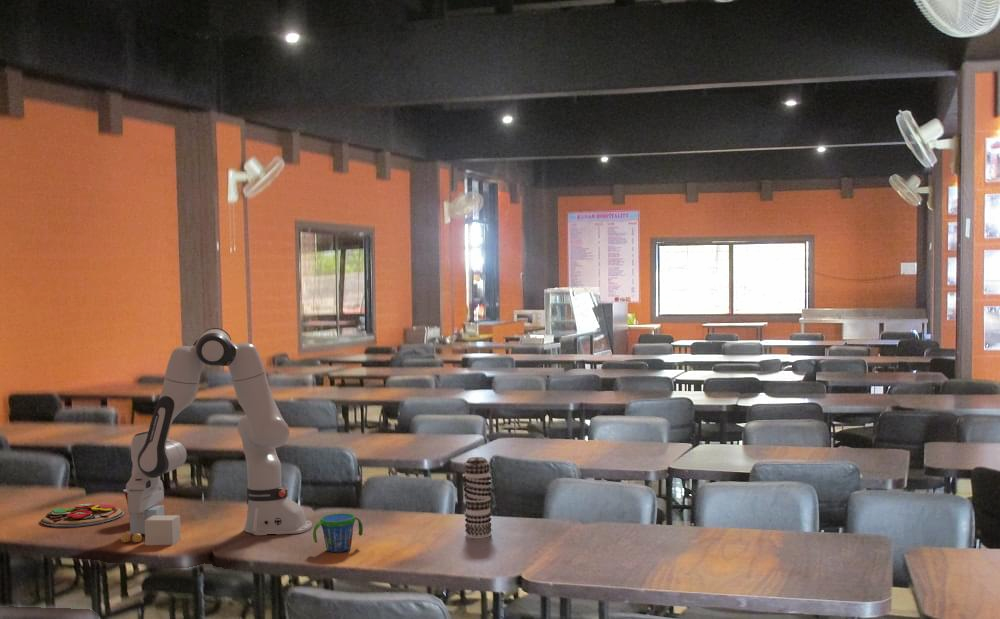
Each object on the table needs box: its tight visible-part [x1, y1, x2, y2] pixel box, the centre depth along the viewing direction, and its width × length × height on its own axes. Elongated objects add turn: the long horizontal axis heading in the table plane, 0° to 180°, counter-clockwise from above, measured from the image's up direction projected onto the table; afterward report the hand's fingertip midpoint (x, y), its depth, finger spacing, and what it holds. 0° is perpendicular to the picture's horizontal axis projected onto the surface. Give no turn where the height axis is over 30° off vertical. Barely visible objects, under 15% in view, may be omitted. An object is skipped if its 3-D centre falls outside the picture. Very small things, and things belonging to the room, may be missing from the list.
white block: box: [129, 504, 165, 535], centre depth 326 cm, size 9×6×8 cm
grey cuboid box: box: [144, 514, 182, 546], centre depth 316 cm, size 9×6×8 cm
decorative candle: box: [462, 456, 492, 539], centre depth 317 cm, size 9×9×25 cm
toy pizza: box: [40, 503, 125, 528], centre depth 352 cm, size 28×28×4 cm
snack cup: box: [312, 512, 364, 553], centre depth 303 cm, size 16×10×10 cm
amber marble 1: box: [120, 532, 132, 544], centre depth 317 cm, size 3×3×3 cm
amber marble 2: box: [131, 533, 143, 543], centre depth 316 cm, size 3×3×3 cm
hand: (147, 520), depth 326 cm, fingers closed on white block, 6 cm apart
